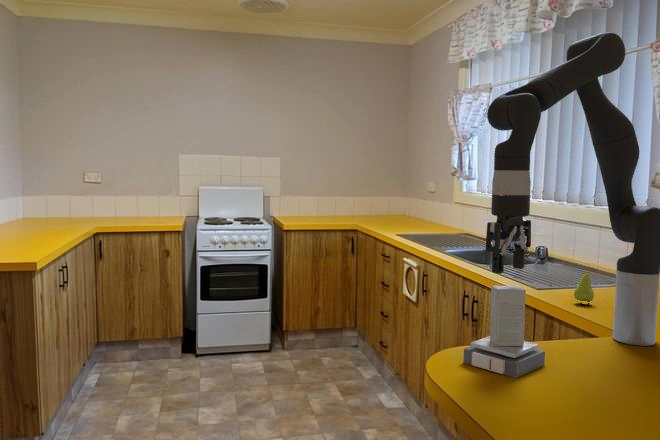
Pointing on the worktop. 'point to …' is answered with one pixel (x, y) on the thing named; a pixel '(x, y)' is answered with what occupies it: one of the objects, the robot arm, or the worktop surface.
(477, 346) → the pan
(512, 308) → the skincare box
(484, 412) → the worktop surface
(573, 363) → the worktop surface
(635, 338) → the robot arm
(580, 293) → the fruit
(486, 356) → the scale base
